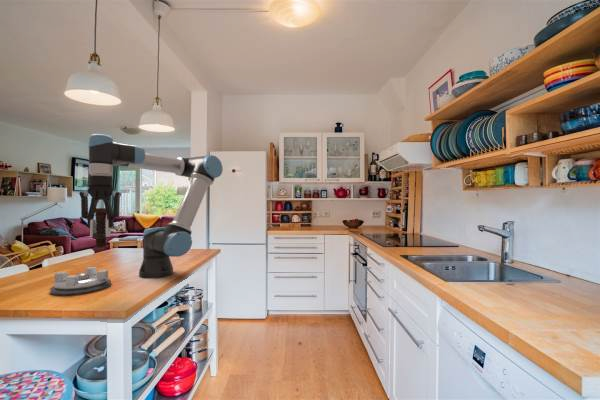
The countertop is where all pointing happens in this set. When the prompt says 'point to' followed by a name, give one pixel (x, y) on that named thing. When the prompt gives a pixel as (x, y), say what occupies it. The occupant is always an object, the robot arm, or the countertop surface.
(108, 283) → the dark round base plate
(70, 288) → the grey round fixture plate
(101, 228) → the bolt
